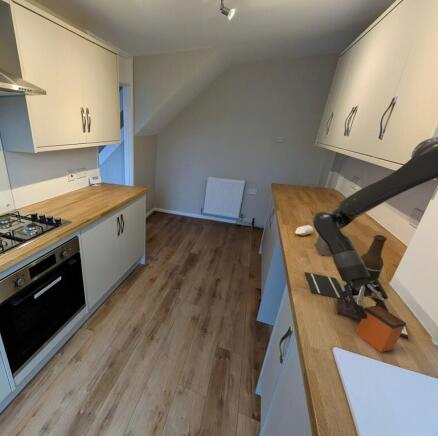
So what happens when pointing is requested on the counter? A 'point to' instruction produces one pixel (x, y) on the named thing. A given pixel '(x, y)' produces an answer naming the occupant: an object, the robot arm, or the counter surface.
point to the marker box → (380, 328)
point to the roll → (304, 230)
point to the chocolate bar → (350, 313)
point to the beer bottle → (374, 257)
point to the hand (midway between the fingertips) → (374, 316)
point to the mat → (324, 285)
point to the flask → (322, 247)
